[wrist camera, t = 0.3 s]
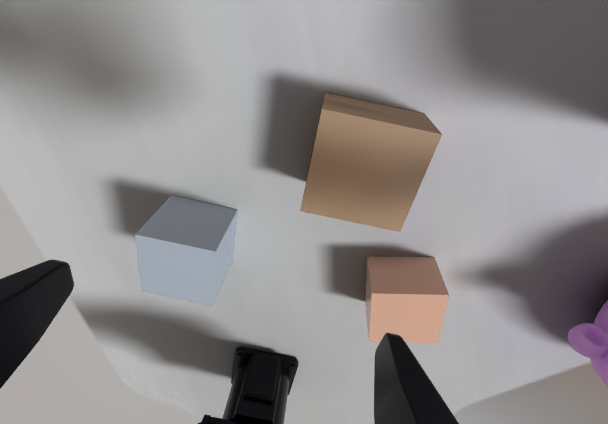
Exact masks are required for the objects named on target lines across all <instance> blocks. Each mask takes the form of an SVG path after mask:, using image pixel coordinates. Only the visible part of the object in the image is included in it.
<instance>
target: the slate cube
mask: <svg viewBox="0 0 608 424" xmlns="http://www.w3.org/2000/svg"><path fill="white" fill-rule="evenodd" d="M237 211H238V210H237V209H232V208H227V207H223V206H218V205H214V204H209V203H204V202H200V201H195V200H190V199H186V198H181V197H177V196H172V195H171V196H170V197H169V198H168V199H167V200H166V202H165V203H164V204H163V205H162V206H161V207H160V208H159V209H158V210H157V211H156V212H155V213H154V214H153V216H152V217H151V218H150V219H149V220H148V221H147V222H146V223H145V224H144V225H143V226H142V227H141V229H140V230H139V231H138V232H137V233H136V234H135V239H136V247H137V255H138V264H139V272H140V280H141V289H142V291H144V292H149V293H153V294H158V295H163V296H168V297H172V298H177V299H182V300H187V301H192V302H196V303H201V304H206V305H211V306H213V304H214V302H215V300H216V297H217V295H218V293H219V290H220V288H221V286H222V283H223V281H224V279H225V277H226V274H227V272H228V270H229V267H230V265H231V263H232V260H233V253H234V242H235V232H236V221H237Z"/></svg>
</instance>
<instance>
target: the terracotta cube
mask: <svg viewBox="0 0 608 424" xmlns="http://www.w3.org/2000/svg"><path fill="white" fill-rule="evenodd" d="M448 297H449V294H448V291H447V289H446V286H445V283H444V281H443V278H442V276H441V273H440V271H439V268H438V265H437V263H436V260H435V258H434V257H367V277H366V299H365V303H366V314H367V325H368V337H369V341H381V340H382V338H383V336H384V335H385V334H386V333H392V334H397V335H400V336H401V337H402V338H403V340H404V341H405V342H419V343H438V339H439V335H440V331H441V327H442V322H443V318H444V314H445V310H446V305H447V301H448Z"/></svg>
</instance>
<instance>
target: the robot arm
mask: <svg viewBox="0 0 608 424" xmlns="http://www.w3.org/2000/svg"><path fill="white" fill-rule="evenodd" d="M73 286H74V282H73V278H72V274H71V269H70V266H69V264H68V263H66V262H63V261H58V260H48V261H45V262H43V263H40V264H38V265H35V266H33V267H30V268H28V269H25V270H22V271H20V272H17V273H15V274H12V275H10V276H7V277H5V278H2V279H0V388H1V387H2V386H3V385H4V383H5V382H6V381H7V380H8V379H9V377H10V376H11V375H12V374H13V372H14V371H15V370H16V369H17V367H18V366H19V365H20V364H21V362H22V361H23V360H24V359H25V358H26V356H27V355H28V354H29V353H30V351H31V350H32V349H33V347H34V346H35V345H36V344H37V342H38V341H39V340H40V338H41V337H42V335H43V334H44V333H45V331H46V329H47V328H48V327H49V325H50V324H51V322H52V320H53V319H54V317H55V316H56V315H57V313H58V312H59V310H60V309H61V307H62V305H63V304H64V303H65V301H66V299H67V298H68V296H69V295H70V293H71V292H72V290H73ZM297 367H298V360H297V359H294V358H289V357H285V356H280V355H275V354H270V353H265V352H260V351H255V350H251V349H246V348H241V347H239V348H237V349H236V351H235V357H234V364H233V372H232V380H231V383H232V387H231V391H230V394H229V397H228V401H227V404H226V408H225V411H224V415H223V418H222V419H221V418H215V417H211V416H210V415H204V417H203V420H202V422H200V423H198V424H284V417H285V410H286V402H287V395H289V392H290V389H291V386H292V383H293V380H294V377H295V374H296V371H297ZM374 419H375V424H459V423H458V422H457V421H456V419H455V417H454V416H453V414H452V413H451V411H450V410H449V408H448V407H447V405H446V403H445V402H444V400H443V399H442V397H441V396H440V394H439V393H438V391H437V390H436V388H435V387H434V385H433V384H432V382H431V381H430V379H429V378H428V376H427V375H426V373H425V372H424V370H423V369H422V367H421V365H420V364H419V362H418V361H417V359H416V358H415V356H414V355H413V353H412V352H411V350H410V349H409V347H408V346H407V344H406V343H405V341H404V340H403V338H402V337H401V336H400V335H397V334H392V333H386V334H385V335H384V336H383V338H382V340H381V342H380V344H379V346H378V347H377V350H376V353H375V379H374Z"/></svg>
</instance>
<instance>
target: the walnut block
mask: <svg viewBox="0 0 608 424" xmlns="http://www.w3.org/2000/svg"><path fill="white" fill-rule="evenodd" d="M441 136H442V134H441V133H440V131H439V130H438V129H437V128H436V127H435V125H434V124H433V123H432V122H431V121H430V119H429V118H428V117H427V116H426V115H425V114H424V113H419V112H414V111H410V110H405V109H400V108H396V107H391V106H386V105H382V104H377V103H372V102H368V101H363V100H358V99H354V98H349V97H344V96H340V95H335V94H330V93H326V92H325V95H324V100H323V105H322V109H321V114H320V119H319V124H318V128H317V133H316V138H315V143H314V147H313V152H312V157H311V162H310V167H309V171H308V176H307V181H306V186H305V191H304V195H303V200H302V205H301V210H300V211H303V212H308V213H312V214H317V215H322V216H327V217H332V218H336V219H341V220H346V221H351V222H356V223H360V224H365V225H370V226H375V227H379V228H384V229H389V230H394V231H399V232H400V231H401V228H402V226H403V224H404V221H405V219H406V217H407V215H408V212H409V210H410V208H411V205H412V203H413V201H414V198H415V196H416V194H417V191H418V189H419V187H420V184H421V182H422V180H423V177H424V175H425V173H426V170H427V168H428V166H429V164H430V161H431V159H432V157H433V154H434V152H435V150H436V147H437V145H438V143H439V140H440V138H441Z"/></svg>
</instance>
